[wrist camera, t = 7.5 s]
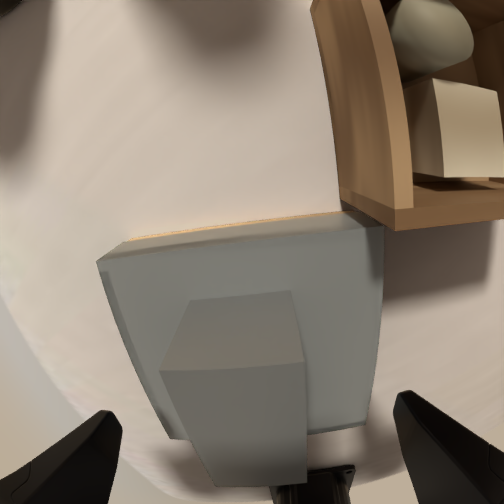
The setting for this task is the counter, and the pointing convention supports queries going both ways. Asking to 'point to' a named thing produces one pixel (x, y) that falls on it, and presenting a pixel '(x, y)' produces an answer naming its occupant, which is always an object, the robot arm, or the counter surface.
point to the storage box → (416, 107)
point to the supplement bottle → (7, 5)
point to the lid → (253, 336)
